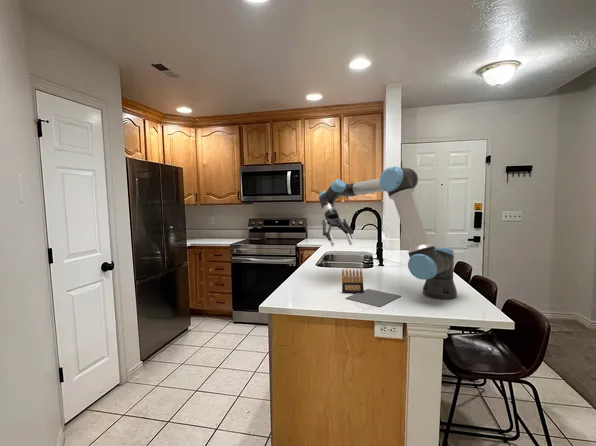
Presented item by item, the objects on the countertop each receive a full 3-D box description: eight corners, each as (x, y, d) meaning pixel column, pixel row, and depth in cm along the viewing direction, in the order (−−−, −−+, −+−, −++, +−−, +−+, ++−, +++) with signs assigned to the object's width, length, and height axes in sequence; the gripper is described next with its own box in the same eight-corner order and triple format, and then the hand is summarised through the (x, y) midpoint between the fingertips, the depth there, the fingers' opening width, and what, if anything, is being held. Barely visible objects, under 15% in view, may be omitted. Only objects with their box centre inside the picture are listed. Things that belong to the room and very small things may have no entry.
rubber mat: (400, 296, 149) (401, 295, 149) (380, 307, 134) (380, 306, 134) (367, 289, 161) (367, 288, 161) (345, 298, 147) (345, 297, 147)
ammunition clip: (363, 291, 155) (362, 268, 155) (363, 292, 153) (362, 268, 153) (342, 291, 158) (341, 268, 157) (342, 292, 156) (340, 269, 155)
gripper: (346, 217, 185) (358, 247, 171) (310, 218, 179) (320, 249, 165) (350, 208, 179) (363, 238, 165) (313, 209, 173) (324, 241, 159)
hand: (342, 244), depth 165 cm, fingers open, 10 cm apart
